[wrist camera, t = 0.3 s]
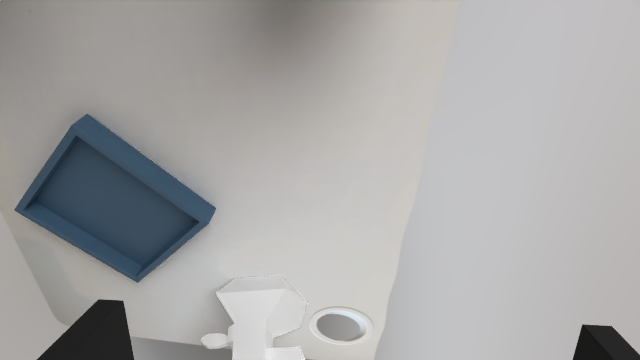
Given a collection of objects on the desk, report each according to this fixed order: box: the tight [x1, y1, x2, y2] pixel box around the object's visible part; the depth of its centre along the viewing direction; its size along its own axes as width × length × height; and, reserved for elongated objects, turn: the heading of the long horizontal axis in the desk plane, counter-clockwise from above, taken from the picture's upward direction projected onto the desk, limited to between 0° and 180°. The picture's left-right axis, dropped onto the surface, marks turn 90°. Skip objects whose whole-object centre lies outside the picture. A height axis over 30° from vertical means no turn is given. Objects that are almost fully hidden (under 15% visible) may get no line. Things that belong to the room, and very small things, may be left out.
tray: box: [15, 114, 216, 283], centre depth 44 cm, size 17×17×3 cm
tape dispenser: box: [201, 274, 308, 360], centre depth 47 cm, size 8×14×14 cm, turn 101°
